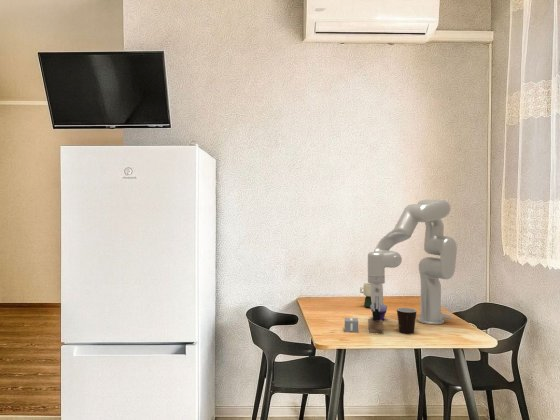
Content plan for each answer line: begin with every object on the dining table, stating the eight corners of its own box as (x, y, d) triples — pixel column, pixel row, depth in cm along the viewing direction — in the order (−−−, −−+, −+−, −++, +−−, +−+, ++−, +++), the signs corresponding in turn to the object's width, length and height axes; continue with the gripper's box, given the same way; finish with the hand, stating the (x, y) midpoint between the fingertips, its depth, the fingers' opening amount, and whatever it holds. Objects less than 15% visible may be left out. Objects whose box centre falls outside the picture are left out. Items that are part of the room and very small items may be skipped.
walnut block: (381, 330, 205) (381, 319, 205) (382, 334, 199) (382, 322, 199) (368, 329, 206) (368, 318, 206) (369, 333, 200) (369, 322, 200)
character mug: (378, 306, 253) (378, 283, 253) (380, 309, 246) (380, 285, 246) (359, 305, 254) (359, 282, 253) (360, 308, 247) (361, 285, 246)
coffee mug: (401, 328, 208) (401, 306, 208) (419, 331, 202) (419, 309, 202) (390, 333, 199) (390, 311, 199) (408, 337, 193) (409, 314, 193)
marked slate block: (357, 329, 207) (357, 317, 207) (358, 332, 201) (358, 321, 200) (344, 328, 207) (344, 317, 207) (344, 332, 201) (344, 320, 201)
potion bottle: (390, 319, 224) (391, 295, 223) (381, 322, 218) (381, 298, 217) (376, 316, 230) (376, 293, 230) (366, 319, 224) (366, 295, 224)
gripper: (386, 282, 194) (386, 324, 195) (383, 276, 209) (383, 315, 209) (368, 282, 195) (368, 324, 196) (366, 276, 210) (367, 315, 210)
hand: (376, 319), depth 202 cm, fingers closed
